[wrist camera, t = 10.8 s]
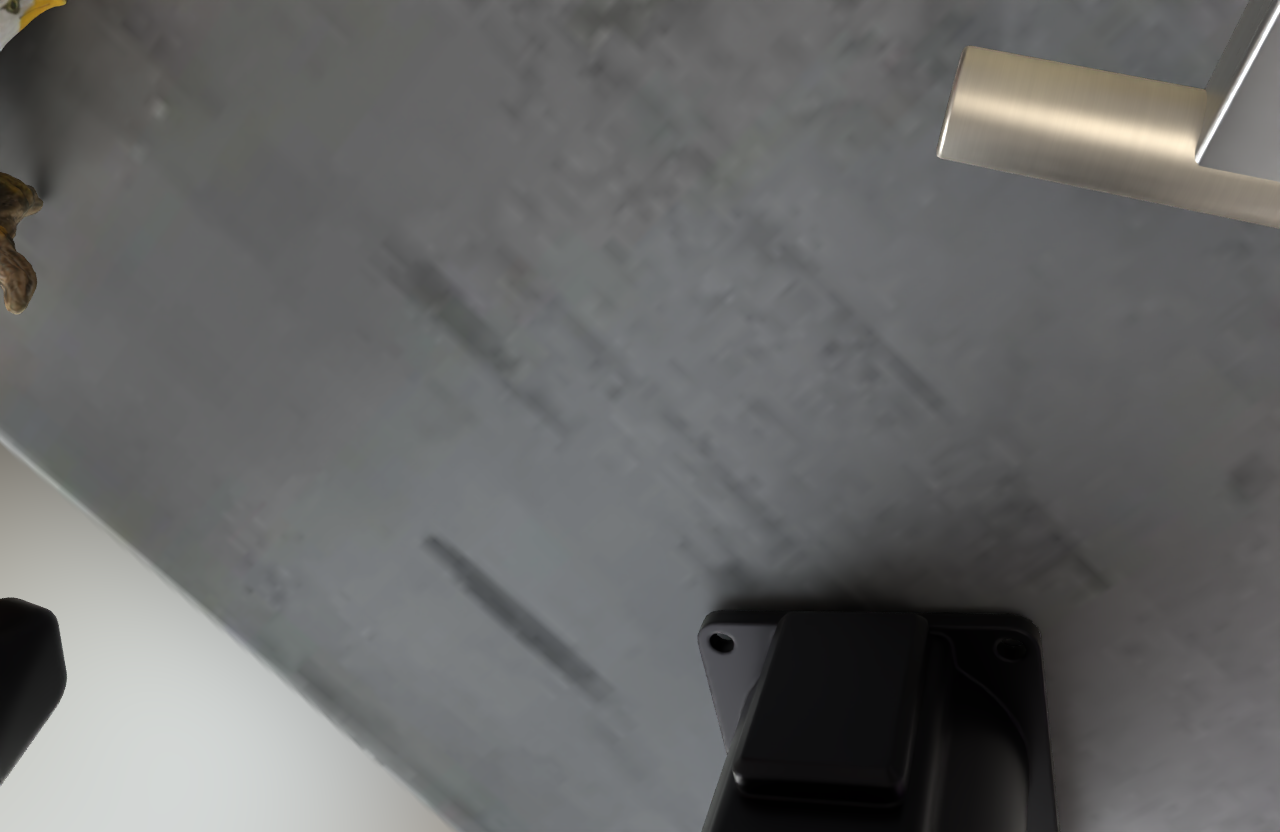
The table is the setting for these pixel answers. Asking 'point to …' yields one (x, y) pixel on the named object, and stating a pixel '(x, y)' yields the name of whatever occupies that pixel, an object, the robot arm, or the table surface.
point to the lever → (1131, 125)
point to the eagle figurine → (3, 9)
